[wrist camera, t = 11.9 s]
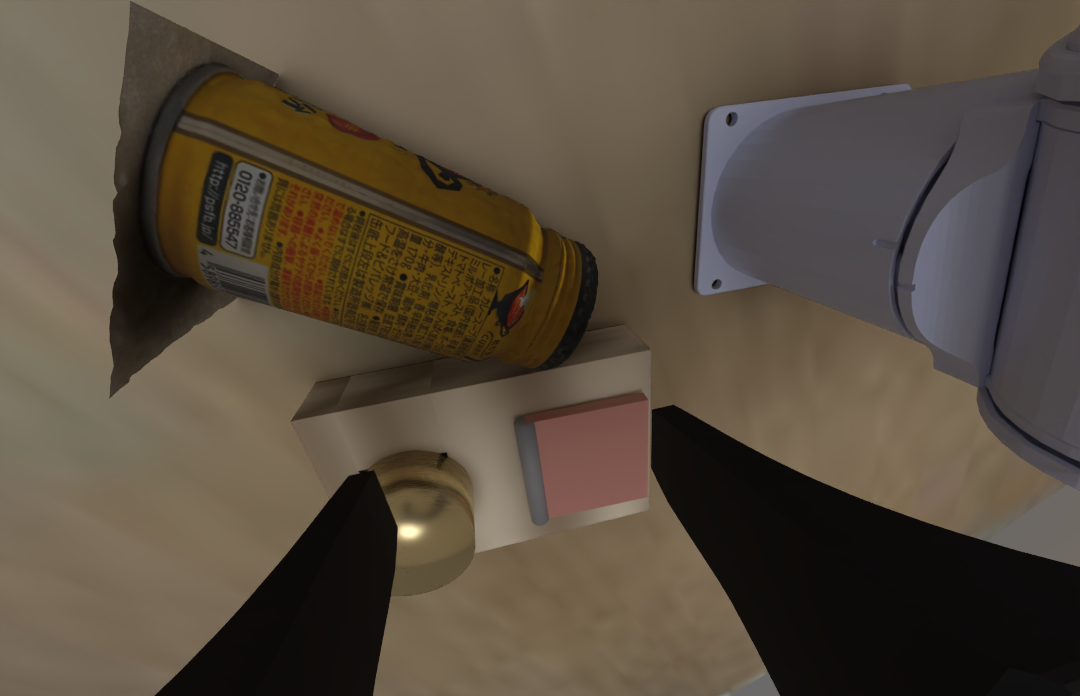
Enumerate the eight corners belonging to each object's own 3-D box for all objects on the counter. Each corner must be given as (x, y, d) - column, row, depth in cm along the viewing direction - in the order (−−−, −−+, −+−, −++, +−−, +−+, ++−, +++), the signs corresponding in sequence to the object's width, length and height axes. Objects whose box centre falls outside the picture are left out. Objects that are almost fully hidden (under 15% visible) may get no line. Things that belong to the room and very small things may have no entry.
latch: (643, 392, 18) (651, 403, 17) (642, 488, 20) (650, 501, 19) (512, 417, 17) (514, 430, 16) (530, 512, 20) (532, 527, 19)
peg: (478, 417, 20) (485, 505, 15) (463, 493, 22) (465, 593, 17) (371, 409, 19) (338, 502, 14) (365, 490, 21) (335, 598, 16)
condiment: (271, 70, 13) (575, 218, 17) (231, 297, 16) (503, 374, 20) (111, -9, 7) (654, 256, 11) (90, 395, 9) (533, 476, 14)
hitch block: (625, 324, 20) (651, 349, 17) (628, 471, 24) (649, 509, 21) (315, 382, 18) (290, 421, 15) (380, 529, 22) (370, 579, 20)
